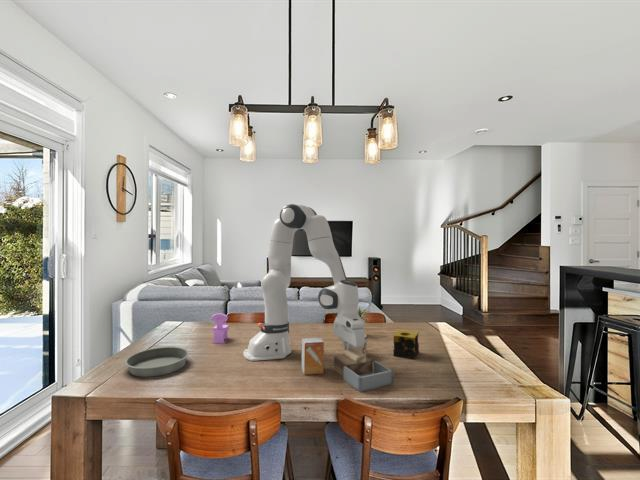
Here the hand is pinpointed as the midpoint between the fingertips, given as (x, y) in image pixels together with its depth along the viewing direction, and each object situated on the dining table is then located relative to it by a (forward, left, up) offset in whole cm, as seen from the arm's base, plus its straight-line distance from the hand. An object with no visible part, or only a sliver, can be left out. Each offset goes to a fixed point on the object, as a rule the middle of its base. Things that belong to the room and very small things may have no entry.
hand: (347, 351), depth 144 cm
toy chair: (-42, +60, -7) cm, 73 cm away
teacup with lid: (+13, +13, -7) cm, 19 cm away
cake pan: (-72, +36, -7) cm, 81 cm away
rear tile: (0, -4, -1) cm, 4 cm away
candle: (+33, +2, -7) cm, 34 cm away
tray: (0, -15, -7) cm, 17 cm away
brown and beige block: (0, -4, -7) cm, 8 cm away
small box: (-15, +3, -7) cm, 17 cm away
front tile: (0, -8, -1) cm, 8 cm away
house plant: (+29, +36, -7) cm, 47 cm away
